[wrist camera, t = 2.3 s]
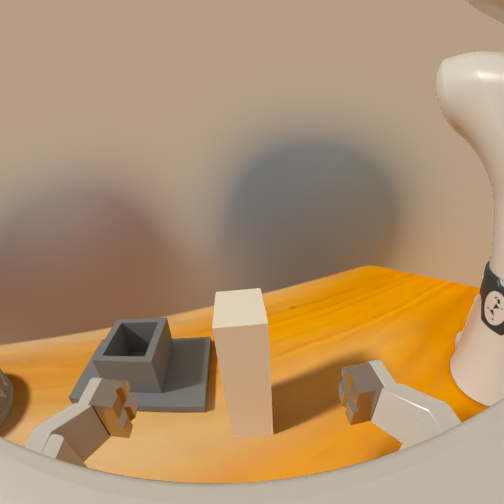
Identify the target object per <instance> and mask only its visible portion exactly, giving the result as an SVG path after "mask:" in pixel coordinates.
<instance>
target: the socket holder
mask: <svg viewBox="0 0 504 504" xmlns="http://www.w3.org/2000/svg"><path fill="white" fill-rule="evenodd" d="M210 351H211V338H210V337H200V338H180V339H172V337H171V333H170V329H169V325H168V321H167V318H151V319H118V320H117V321H116V322H115V324H114V326H113V327H112V329H111V330H110V332H109V334H108V335H107V337H106V339H103V340H102V341H101V343H100V345H99V346H98V348H97V350H96V351H95V353H94V355H93V356H92V358H91V360H90V361H89V363H88V365H87V366H86V368H85V370H84V372H83V373H82V375H81V377H80V378H79V380H78V382H77V384H76V386H75V387H74V389H73V391H72V393H71V395H70V396H69V399H70V401H71V402H72V403H78V402H79V400H80V398H81V396H82V394H83V392H84V390H85V388H86V387H87V385H88V383H89V381H90V379H91V378H93V377H97V378H107V379H116V380H126V381H128V383H129V385H130V387H131V388H130V391H129V392H130V393H131V394H133V395H134V397H135V399H136V403H137V411H151V412H206V403H207V389H208V376H209V363H210Z"/></svg>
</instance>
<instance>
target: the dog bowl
mask: <svg viewBox="0 0 504 504" xmlns="http://www.w3.org/2000/svg"><path fill="white" fill-rule="evenodd" d="M13 401H14V387H13V384H12V382H11V381H10V380H9V378H8V377H7V376H6V375H5V374H4V373H3V372H2V371H1V369H0V427H1V425H2V424H3V423H4V421H5V420H6V418H7V416H8V415H9V413H10V411H11V408H12V405H13Z"/></svg>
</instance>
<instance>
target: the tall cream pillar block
mask: <svg viewBox="0 0 504 504" xmlns="http://www.w3.org/2000/svg"><path fill="white" fill-rule="evenodd" d="M212 330H213V336H214V342H215V347H216V353H217V359H218V364H219V370H220V375H221V380H222V385H223V390H224V396H225V400H226V405H227V410H228V415H229V420H230V424H231V429H232V434H233V438H247V437H258V436H268V435H273V416H272V392H271V370H270V350H269V330H268V320H267V316H266V311H265V307H264V303H263V298H262V294H261V289H260V288H257V289H246V290H235V291H223V292H216V296H215V305H214V315H213V325H212Z"/></svg>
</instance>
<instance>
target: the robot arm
mask: <svg viewBox="0 0 504 504" xmlns="http://www.w3.org/2000/svg"><path fill="white" fill-rule="evenodd" d="M467 1H468V2H469V3H470V4H471V5H472V6H473V7H474V8H476V9H477V10H479V11H481V12H482V13H484V14H486V15H488V16H490V17H492V18H494V19H496V20H498V21H500V22H502V23H504V0H467ZM436 96H437V100H438V104H439V106H440V109H441V111H442V113H443V115H444V117H445V118H446V120H447V121H448V123H449V124H450V126H451V127H452V128H453V129H454V130H455V131H456V132H457V133H458V134H459V135H461V136H462V137H463V138H464V139H465V140H466V141H467V142H468V143H469V144H470V145H471V147H472V148H473V149H474V150H475V152H476V153H477V155H478V156H479V157H480V159H481V161H482V163H483V165H484V167H485V169H486V171H487V173H488V176H489V179H490V183H491V186H492V191H493V197H494V232H493V243H492V250H491V256H490V261H489V262H488V263H487V264H486V267H485V271H484V274H483V277H482V284H481V288H480V294H479V295H477V296H476V298H475V300H474V302H473V305H472V308H471V311H470V313H469V316H468V319H467V321H466V324H465V326H464V329H463V331H462V332H459V333H458V334H457V336H456V338H455V346H456V349H455V351H454V353H453V355H452V357H451V361H450V370H451V374H452V376H453V379H454V381H455V382H456V384H457V385H458V387H459V388H460V389H461V390H462V391H463V392H464V393H465V394H466V395H467V396H469V397H470V398H472V399H473V400H475V401H477V402H479V403H481V404H484V405H487V406H490V407H488V408H486V409H485V410H483V411H482V412H480V413H478V414H476V415H475V416H473V417H471V418H469V419H467V420H466V421H464V422H461V421H460V420H459V418H458V417H457V416H456V414H455V413H454V412H453V410H452V409H451V408H450V406H449V405H448V404H447V403H445V402H443V401H441V400H438V399H436V398H433V397H431V396H429V395H426V394H424V393H422V392H419V391H417V390H415V389H412V388H410V387H408V386H406V385H403V384H401V383H399V384H397V383H396V381H395V380H394V379H393V377H392V376H391V374H390V373H389V371H388V370H387V369H386V367H385V366H384V364H383V363H382V361H381V360H379V359H376V360H372V361H368V362H364V363H360V364H355V365H350V366H345V367H343V368H342V370H341V376H342V380H341V382H340V383H339V388H338V392H339V399H340V402H341V404H342V405H343V406H344V407H346V412H345V414H346V416H347V418H348V421H349V423H350V425H353V424H358V423H362V422H366V421H371V422H372V423H374V424H375V425H377V426H378V427H380V428H381V429H382V430H384V431H385V432H387V433H388V434H390V435H391V436H393V437H394V438H396V439H397V440H399V441H400V442H402V443H403V444H402V446H401V447H400V449H399V451H396V452H394V453H391V454H388V455H385V456H382V457H379V458H376V459H373V460H369V461H366V462H362V463H359V464H355V465H352V466H348V467H344V468H340V469H335V470H331V471H326V472H321V473H316V474H311V475H306V476H300V477H293V478H286V479H278V480H269V481H259V482H244V483H183V482H169V481H158V480H150V479H142V478H135V477H129V476H123V475H117V474H112V473H107V472H103V471H98V470H94V469H90V468H88V467H87V466H86V465H85V464H84V461H85V460H86V459H87V458H88V457H89V456H90V455H92V454H93V453H94V452H95V451H96V450H97V449H98V448H99V447H100V446H101V445H102V444H103V443H104V442H105V441H106V440H107V439H109V438H110V436H116V437H125V438H129V437H130V433H131V430H132V427H133V425H132V423H131V420H133V419H134V418H135V417H136V413H137V403H136V399H135V397H134V395H133V394H131V393H130V392H129V391H130V388H131V387H130V385H129V383H128V381H126V380H116V379H107V378H97V377H93V378H91V379H90V381H89V383H88V385H87V387H86V388H85V390H84V392H83V394H82V396H81V398H80V400H79V402H78V403H74V404H72V405H70V406H69V407H67V408H65V409H64V410H62V411H61V412H59V413H57V414H56V415H54V416H52V417H51V418H49V419H47V420H46V421H44V422H42V423H41V424H39V425H37V426H36V427H35V428H34V430H33V432H32V433H31V435H30V437H29V439H28V441H27V443H26V445H25V446H24V447H23V446H21V445H18V444H16V443H14V442H11V441H9V440H7V439H5V438H3V437H1V436H0V504H504V52H486V51H484V52H483V51H481V52H480V51H474V52H469V53H465V54H460V55H457V56H453V57H450V58H447V59H444V60H443V62H442V63H441V65H440V67H439V69H438V72H437V76H436Z"/></svg>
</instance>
